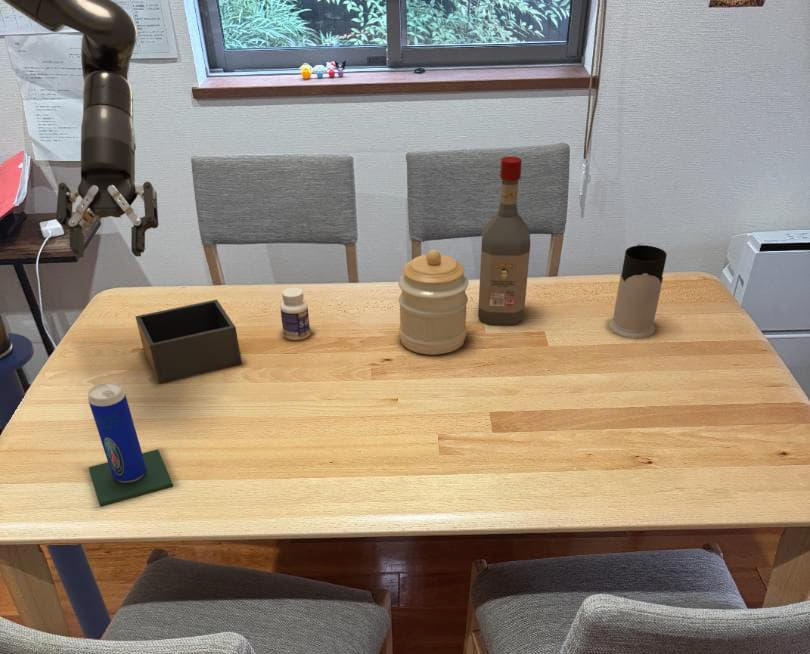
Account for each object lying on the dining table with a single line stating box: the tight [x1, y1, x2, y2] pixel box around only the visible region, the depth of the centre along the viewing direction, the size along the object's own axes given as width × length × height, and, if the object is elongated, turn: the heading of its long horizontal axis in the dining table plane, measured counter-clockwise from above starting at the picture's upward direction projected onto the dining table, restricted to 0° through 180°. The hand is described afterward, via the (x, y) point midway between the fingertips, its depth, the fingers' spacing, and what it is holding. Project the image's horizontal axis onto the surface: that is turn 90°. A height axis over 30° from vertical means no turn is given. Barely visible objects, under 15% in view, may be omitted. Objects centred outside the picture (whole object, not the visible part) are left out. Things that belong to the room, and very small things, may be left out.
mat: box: [88, 448, 174, 507], centre depth 126 cm, size 11×10×1 cm
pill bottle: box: [279, 287, 311, 341], centre depth 157 cm, size 5×5×9 cm
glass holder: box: [609, 242, 668, 339], centre depth 157 cm, size 9×14×15 cm, turn 173°
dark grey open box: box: [135, 299, 243, 384], centre depth 151 cm, size 16×13×8 cm
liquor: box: [477, 156, 531, 326], centre depth 155 cm, size 9×9×30 cm
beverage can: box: [87, 381, 146, 483], centre depth 121 cm, size 5×5×15 cm
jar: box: [397, 249, 469, 355], centre depth 152 cm, size 13×13×18 cm
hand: (107, 254), depth 119 cm, fingers open, 8 cm apart
